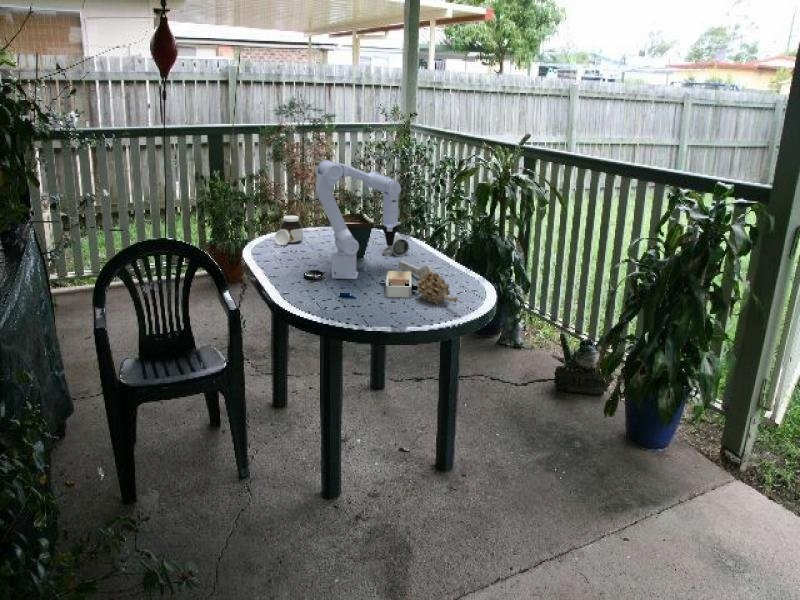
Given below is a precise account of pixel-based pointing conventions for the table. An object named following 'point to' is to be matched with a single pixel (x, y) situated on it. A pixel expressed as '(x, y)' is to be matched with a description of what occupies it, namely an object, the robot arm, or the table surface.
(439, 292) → the pine cone
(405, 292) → the tray
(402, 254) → the ceramic mug
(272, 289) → the table surface
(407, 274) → the board
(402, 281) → the tile
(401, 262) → the wrench
